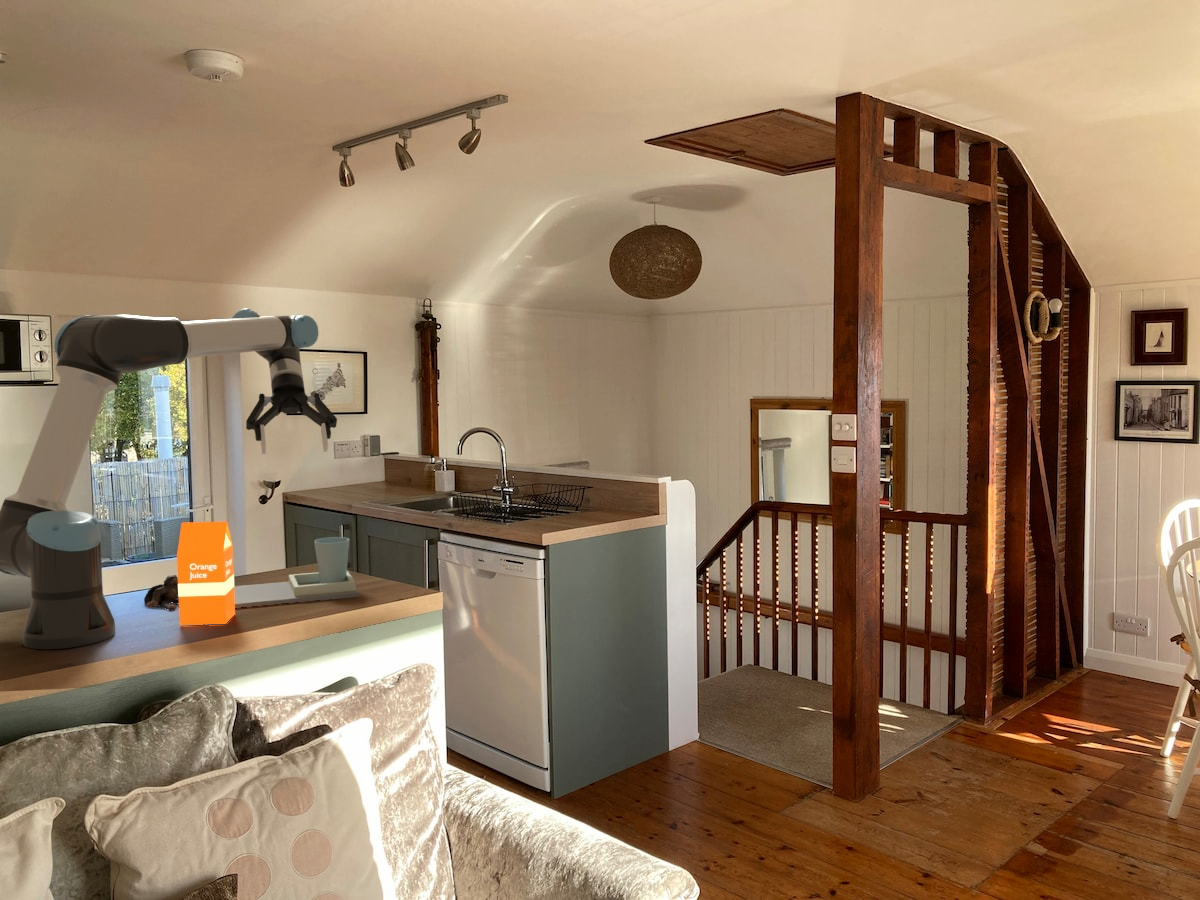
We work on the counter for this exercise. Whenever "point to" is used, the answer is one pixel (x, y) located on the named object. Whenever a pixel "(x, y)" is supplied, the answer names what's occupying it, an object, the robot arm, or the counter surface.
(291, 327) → the robot arm
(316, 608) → the counter surface
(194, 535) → the orange juice
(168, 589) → the stuffed animal
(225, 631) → the counter surface
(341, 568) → the cup
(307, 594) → the board
